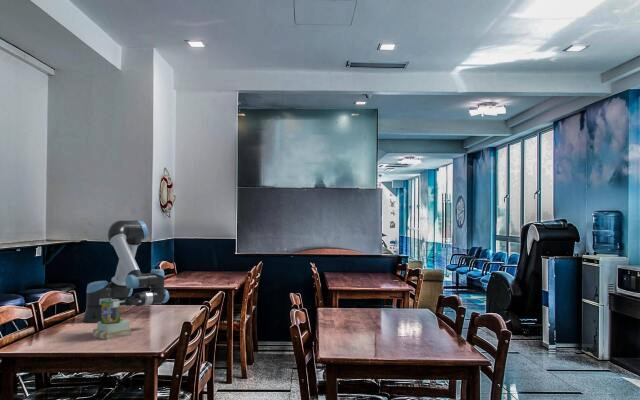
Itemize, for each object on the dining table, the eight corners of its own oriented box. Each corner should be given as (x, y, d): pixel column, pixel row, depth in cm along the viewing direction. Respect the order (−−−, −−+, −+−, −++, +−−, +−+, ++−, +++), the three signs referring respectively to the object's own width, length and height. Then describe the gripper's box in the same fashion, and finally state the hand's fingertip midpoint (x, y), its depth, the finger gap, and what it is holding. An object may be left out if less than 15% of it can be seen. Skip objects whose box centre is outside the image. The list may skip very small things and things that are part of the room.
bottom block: (92, 337, 279) (93, 329, 280) (117, 332, 290) (117, 325, 290) (106, 341, 271) (106, 333, 271) (131, 336, 281) (131, 329, 282)
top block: (97, 329, 281) (97, 321, 281) (119, 325, 290) (119, 318, 290) (107, 332, 273) (107, 324, 273) (129, 329, 281) (129, 321, 282)
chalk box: (119, 322, 277) (120, 294, 278) (100, 324, 274) (101, 295, 274) (119, 319, 286) (119, 292, 286) (101, 321, 282) (101, 293, 283)
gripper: (155, 308, 286) (118, 313, 270) (130, 303, 302) (94, 307, 286) (155, 294, 287) (119, 298, 270) (130, 290, 302) (94, 293, 286)
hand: (106, 303), depth 278 cm, fingers open, 13 cm apart
